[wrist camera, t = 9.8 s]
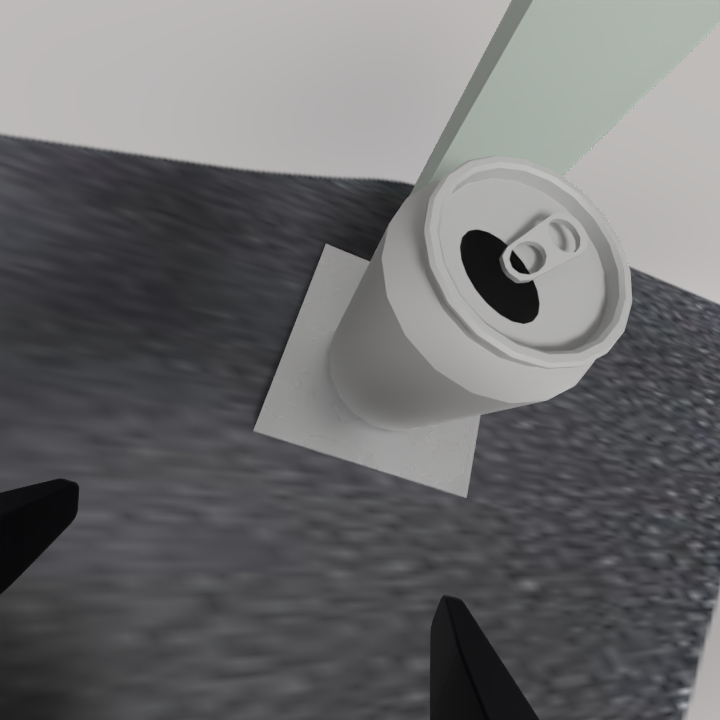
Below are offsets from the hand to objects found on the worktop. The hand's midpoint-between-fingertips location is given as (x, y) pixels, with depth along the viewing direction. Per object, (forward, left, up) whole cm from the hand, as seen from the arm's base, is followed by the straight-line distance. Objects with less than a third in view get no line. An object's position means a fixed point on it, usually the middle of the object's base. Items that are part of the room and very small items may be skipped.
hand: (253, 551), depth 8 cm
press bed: (+9, -4, -10) cm, 14 cm away
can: (+9, -4, -9) cm, 13 cm away
